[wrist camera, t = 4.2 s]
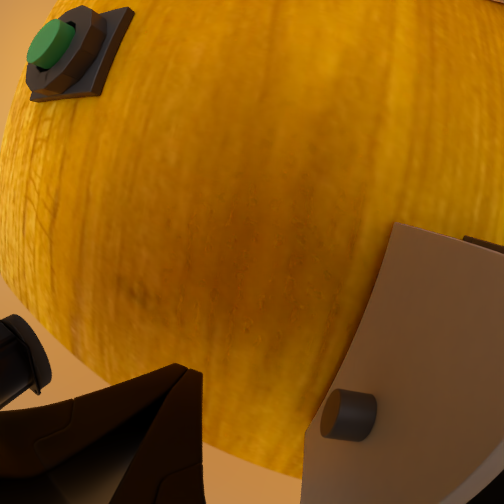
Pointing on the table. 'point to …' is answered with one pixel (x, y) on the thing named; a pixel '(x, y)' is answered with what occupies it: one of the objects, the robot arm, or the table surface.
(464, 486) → the drawer
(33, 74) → the control block
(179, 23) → the table surface
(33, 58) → the button
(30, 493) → the robot arm
